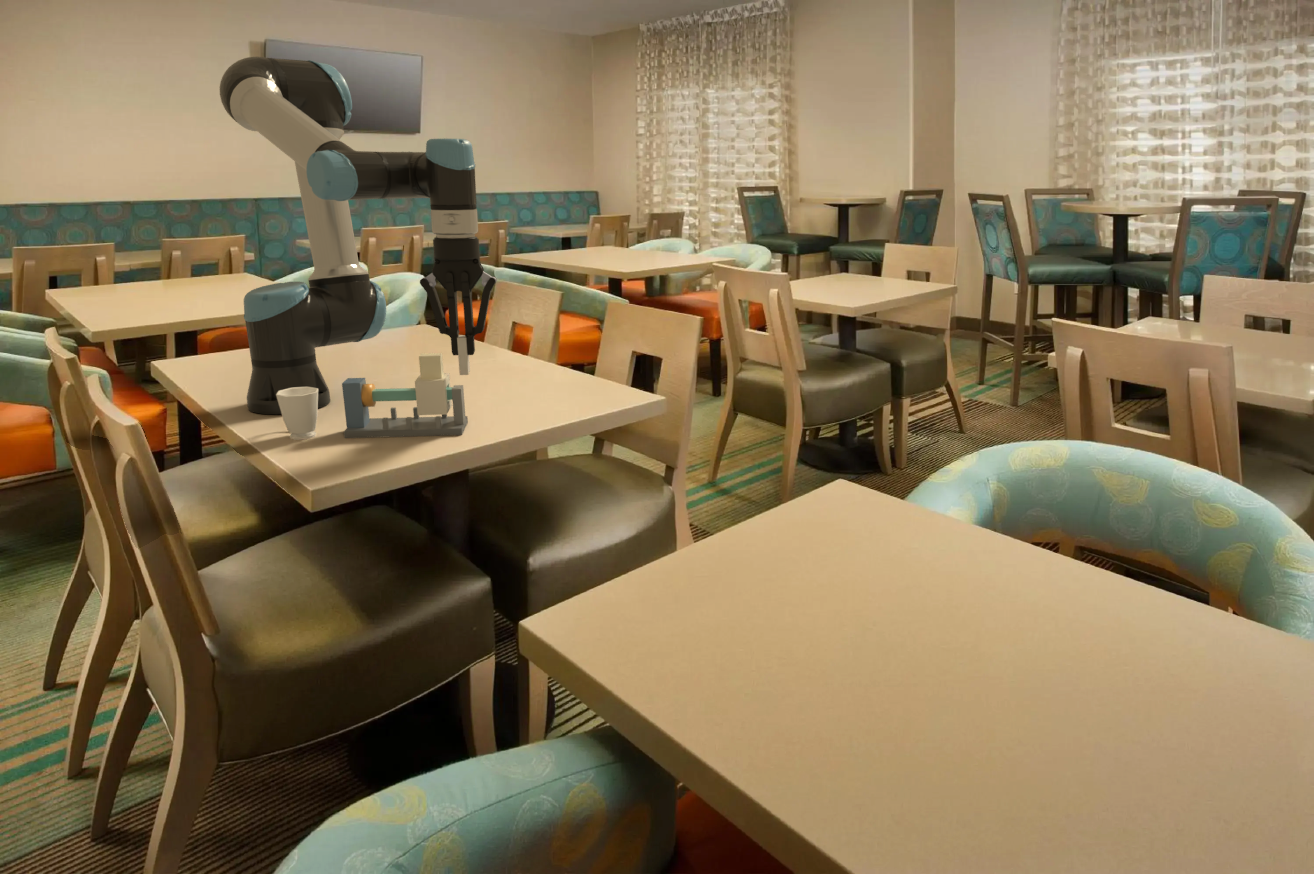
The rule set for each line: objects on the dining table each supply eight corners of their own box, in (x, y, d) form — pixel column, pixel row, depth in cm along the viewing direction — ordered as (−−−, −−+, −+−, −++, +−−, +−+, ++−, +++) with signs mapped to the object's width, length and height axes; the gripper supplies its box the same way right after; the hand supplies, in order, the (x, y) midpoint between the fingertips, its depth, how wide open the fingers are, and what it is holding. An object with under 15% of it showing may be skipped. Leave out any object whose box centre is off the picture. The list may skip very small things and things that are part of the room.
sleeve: (451, 405, 158) (447, 351, 155) (446, 414, 152) (442, 357, 149) (423, 406, 158) (419, 351, 155) (417, 415, 152) (412, 358, 149)
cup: (287, 444, 148) (281, 398, 145) (272, 431, 155) (266, 387, 153) (329, 437, 152) (324, 392, 149) (312, 424, 159) (307, 381, 157)
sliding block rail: (467, 422, 160) (464, 373, 158) (462, 434, 153) (458, 383, 150) (356, 425, 159) (350, 375, 156) (344, 438, 151) (338, 386, 148)
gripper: (412, 237, 143) (423, 378, 150) (492, 237, 144) (500, 377, 151) (420, 234, 150) (430, 369, 157) (497, 233, 151) (504, 367, 158)
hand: (464, 373), depth 154 cm, fingers closed
